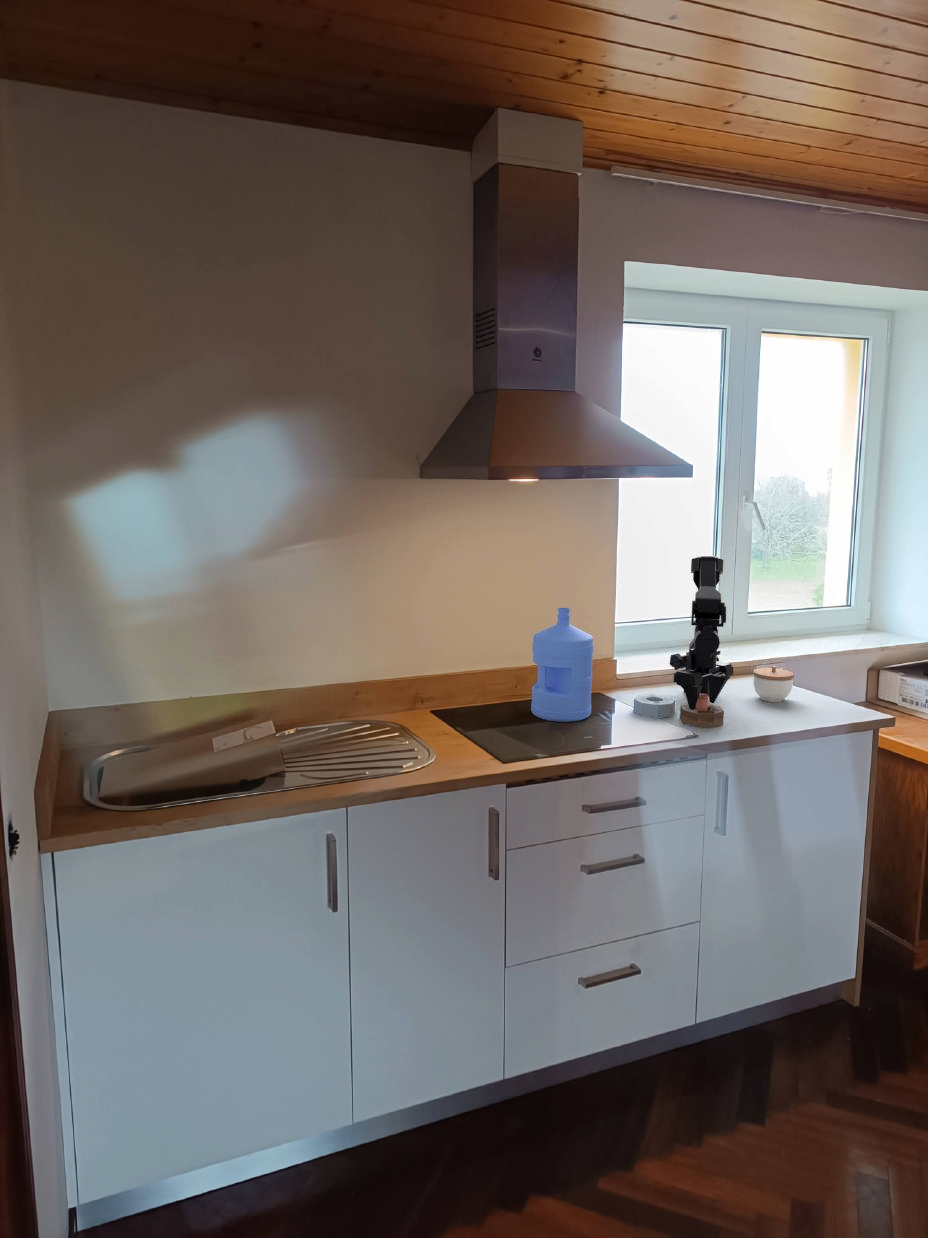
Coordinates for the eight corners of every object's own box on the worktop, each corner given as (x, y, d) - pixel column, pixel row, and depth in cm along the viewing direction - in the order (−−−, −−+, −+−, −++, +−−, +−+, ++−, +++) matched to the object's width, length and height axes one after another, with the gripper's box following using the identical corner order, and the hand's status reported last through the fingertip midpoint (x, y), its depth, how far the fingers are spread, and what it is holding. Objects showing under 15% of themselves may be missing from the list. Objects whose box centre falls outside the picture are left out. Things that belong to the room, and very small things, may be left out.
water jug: (564, 702, 235) (567, 602, 230) (603, 716, 222) (607, 610, 217) (519, 711, 226) (521, 606, 221) (556, 726, 213) (559, 615, 208)
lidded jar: (752, 702, 236) (754, 669, 235) (751, 692, 246) (753, 661, 245) (793, 705, 233) (796, 672, 232) (790, 695, 243) (793, 663, 242)
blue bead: (640, 705, 233) (640, 692, 232) (677, 709, 228) (677, 697, 228) (630, 714, 224) (631, 701, 223) (668, 719, 220) (669, 706, 219)
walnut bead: (695, 713, 225) (695, 700, 224) (729, 722, 218) (730, 708, 217) (673, 721, 218) (673, 707, 218) (707, 729, 211) (708, 716, 210)
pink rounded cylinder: (699, 719, 220) (700, 692, 219) (709, 721, 218) (710, 695, 217) (692, 721, 218) (694, 694, 217) (702, 723, 216) (704, 697, 215)
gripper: (698, 636, 227) (695, 693, 229) (656, 645, 214) (653, 706, 217) (736, 643, 218) (732, 702, 221) (695, 653, 206) (691, 715, 209)
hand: (701, 706), depth 217 cm, fingers open, 9 cm apart
